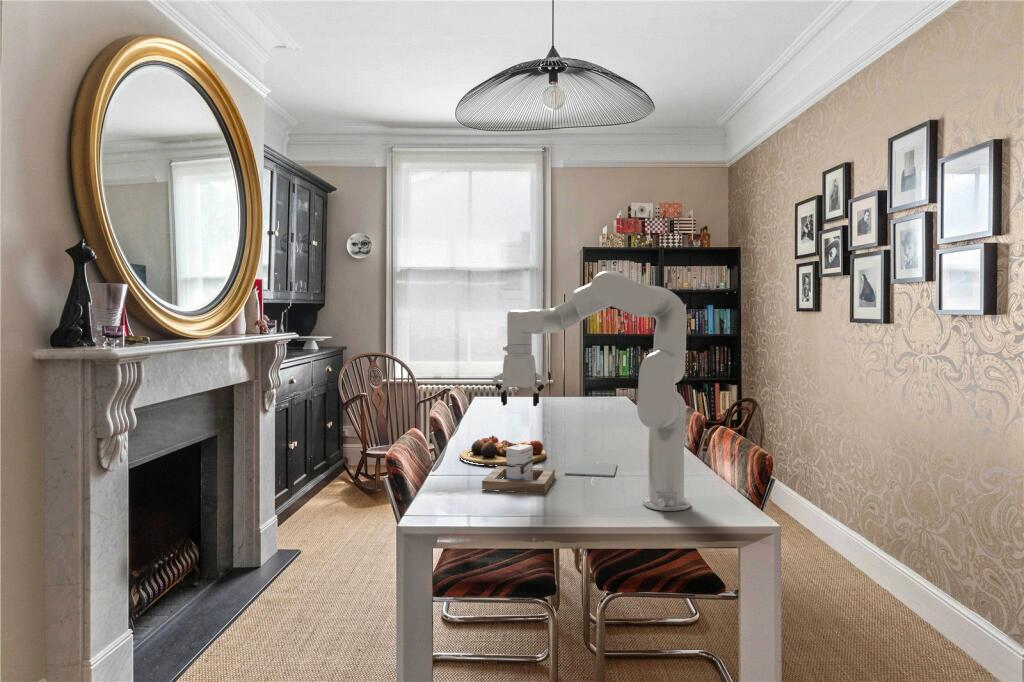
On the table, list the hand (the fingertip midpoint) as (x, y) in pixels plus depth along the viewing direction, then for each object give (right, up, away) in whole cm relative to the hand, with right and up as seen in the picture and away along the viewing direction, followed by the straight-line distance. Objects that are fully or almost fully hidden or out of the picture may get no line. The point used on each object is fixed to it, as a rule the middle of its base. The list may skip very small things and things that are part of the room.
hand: (519, 405), depth 197 cm
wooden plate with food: (-6, -24, +39) cm, 46 cm away
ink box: (0, -25, +1) cm, 25 cm away
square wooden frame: (0, -25, +1) cm, 25 cm away
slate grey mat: (+24, -24, +18) cm, 38 cm away
